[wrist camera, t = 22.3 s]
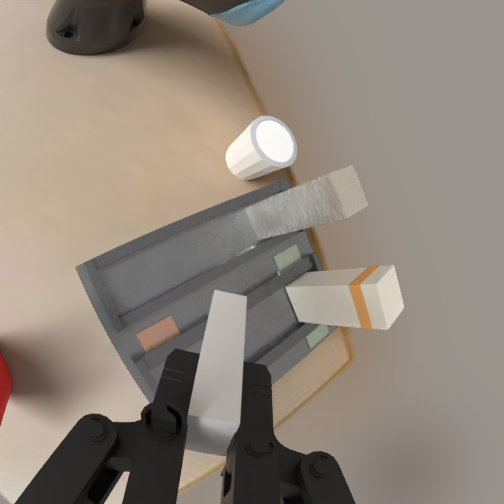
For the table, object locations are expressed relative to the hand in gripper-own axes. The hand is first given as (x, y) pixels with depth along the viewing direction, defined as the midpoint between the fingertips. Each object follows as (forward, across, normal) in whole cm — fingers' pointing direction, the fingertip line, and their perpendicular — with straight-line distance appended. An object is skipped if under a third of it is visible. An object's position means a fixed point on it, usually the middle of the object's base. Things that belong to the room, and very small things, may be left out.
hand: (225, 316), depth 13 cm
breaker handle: (+20, +10, -10) cm, 24 cm away
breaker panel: (+17, 0, -12) cm, 21 cm away
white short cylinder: (+28, -1, +3) cm, 29 cm away
